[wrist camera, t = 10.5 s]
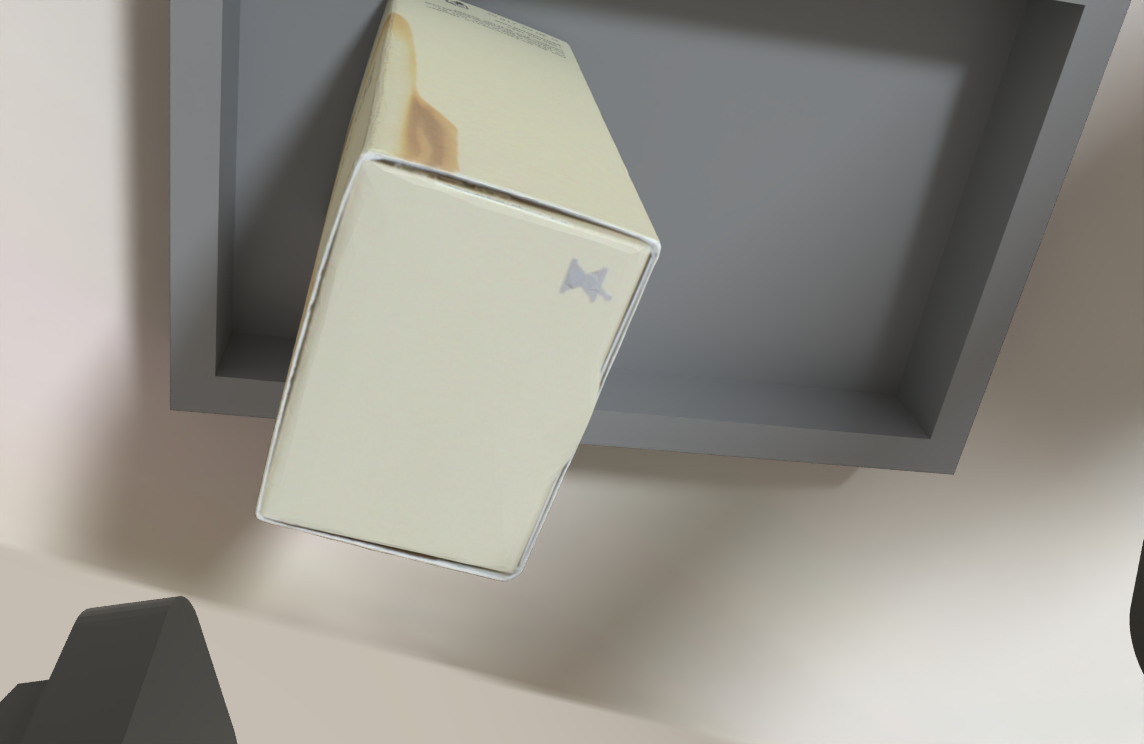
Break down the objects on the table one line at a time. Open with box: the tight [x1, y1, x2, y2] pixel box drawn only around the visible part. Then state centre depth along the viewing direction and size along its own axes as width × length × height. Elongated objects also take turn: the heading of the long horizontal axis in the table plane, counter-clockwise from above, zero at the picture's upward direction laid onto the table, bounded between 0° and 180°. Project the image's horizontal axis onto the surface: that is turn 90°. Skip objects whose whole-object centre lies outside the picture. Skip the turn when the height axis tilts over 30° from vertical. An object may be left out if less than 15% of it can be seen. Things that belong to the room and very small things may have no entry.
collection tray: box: [170, 0, 1131, 475], centre depth 26 cm, size 20×13×3 cm, turn 81°
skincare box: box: [255, 0, 661, 581], centre depth 21 cm, size 6×4×12 cm
